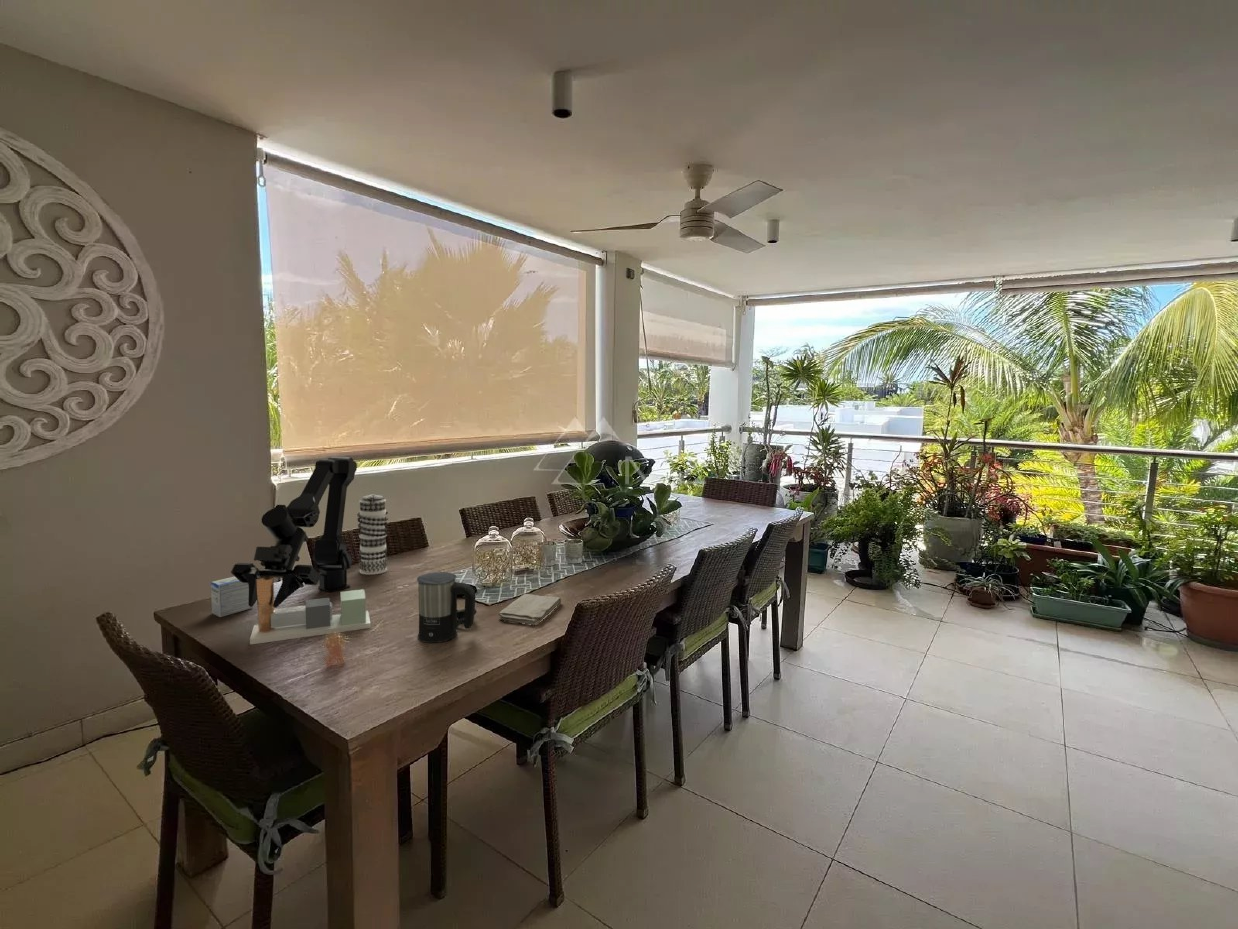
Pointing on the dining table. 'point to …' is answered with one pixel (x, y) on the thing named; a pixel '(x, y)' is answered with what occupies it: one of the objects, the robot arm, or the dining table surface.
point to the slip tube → (276, 617)
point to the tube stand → (309, 624)
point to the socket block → (353, 607)
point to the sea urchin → (335, 648)
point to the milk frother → (443, 606)
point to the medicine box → (229, 596)
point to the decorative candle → (372, 535)
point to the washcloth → (529, 609)
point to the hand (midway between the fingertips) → (262, 606)
